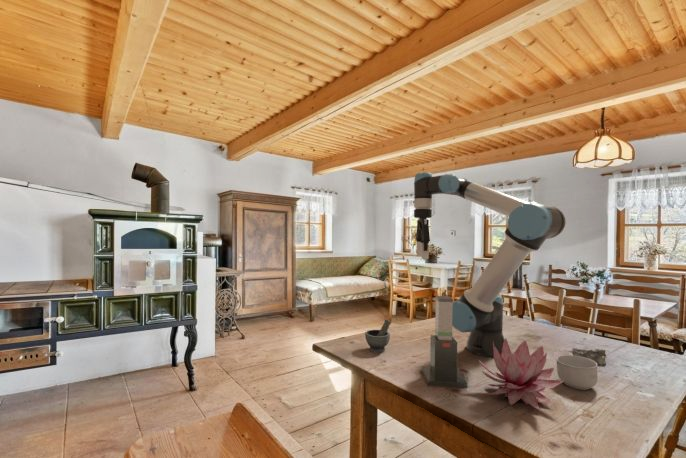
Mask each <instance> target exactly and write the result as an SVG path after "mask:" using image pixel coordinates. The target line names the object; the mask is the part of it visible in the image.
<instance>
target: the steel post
mask: <svg viewBox="0 0 686 458" xmlns="http://www.w3.org/2000/svg"><path fill="white" fill-rule="evenodd" d="M453 300H454V299H453V298H452V297H451V296H449V295H435V328H434V332H435V333H434V335H435V338H436V339H437V341H452V337H453V326H452V310H453V302H454V301H453Z"/></svg>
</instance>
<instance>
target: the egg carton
mask: <svg viewBox="0 0 686 458" xmlns="http://www.w3.org/2000/svg"><path fill="white" fill-rule="evenodd" d="M571 350H572V351H571V354H573V355H574V356H580V357H585V358H588V359H591V360H593V361H595V362H596V363H597V364H598V365H606V359H607V357H608V356H607V354H606V353H607V352H606V350H604V349H599V348H598V349H595V350H594V349H585V348H582V349H581V348H580V349H579V348H577V347H572V348H571Z"/></svg>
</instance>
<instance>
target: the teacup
mask: <svg viewBox="0 0 686 458" xmlns="http://www.w3.org/2000/svg"><path fill="white" fill-rule="evenodd" d="M555 361H556V370H557V377H558V378H559V380H564V382H563V383H564V384H565V385H566V386H567V387H570V388H571V389H576V390H581V391H582V390H583V391H587V390H590V389H591V388H593V387H595V386H597V383H598V367H599V366H598V365H599V364H598V363H596V362H595V361H593V360H591V359H588V358H585V357H580V356H574V355H573V354H572V353H567V354H562V355H558V356H556V358H555Z"/></svg>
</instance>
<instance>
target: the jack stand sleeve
mask: <svg viewBox="0 0 686 458" xmlns="http://www.w3.org/2000/svg"><path fill="white" fill-rule="evenodd" d="M429 348H430V349H429V350H430V353H429V355H430V358H429V363H430V364H429V365H421V368H420V369H421V372H422V374H423V377H424V380H425V382H426V384H427V386H428V387H445V388H447V387H448V388H468V381H467V380H466V379H465V376H464V375H463V374H462V372H461V371H460V369H459V368H458V342H457V340H456V339H455V338H454V337H453V336H452V341H437V339H436V338H435V334H430V347H429Z"/></svg>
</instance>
